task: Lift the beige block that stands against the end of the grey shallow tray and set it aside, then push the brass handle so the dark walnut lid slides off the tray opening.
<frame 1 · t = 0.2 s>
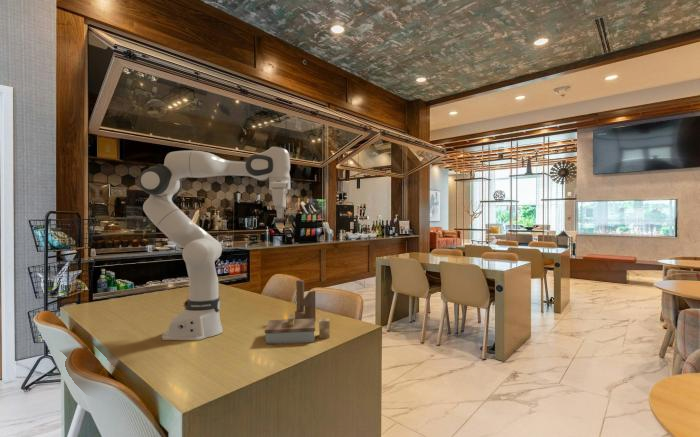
hand: (280, 218, 145), 47 cm above the table, fingers open, 8 cm apart
beige block: (324, 336, 136), on the table
grey shallow tray: (291, 337, 134), on the table
wooden block: (305, 320, 158), on the table
lid: (291, 321, 134), point 6 cm above the table, slide at 0.0 cm
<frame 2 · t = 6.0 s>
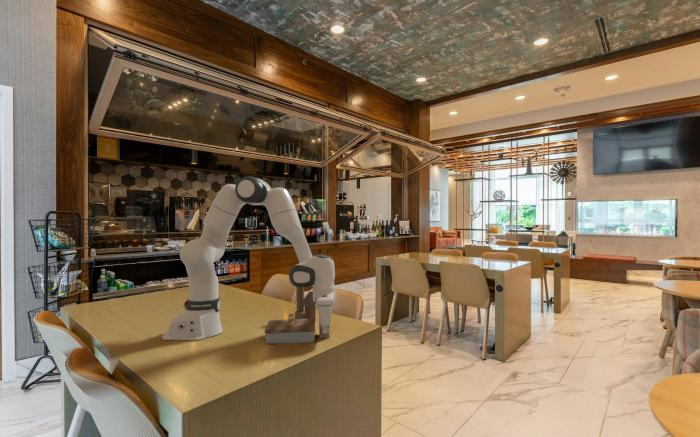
hand: (324, 330, 136), 2 cm above the table, fingers closed on beige block, 4 cm apart
beige block: (324, 336, 136), on the table, touching gripper
everything else where it was.
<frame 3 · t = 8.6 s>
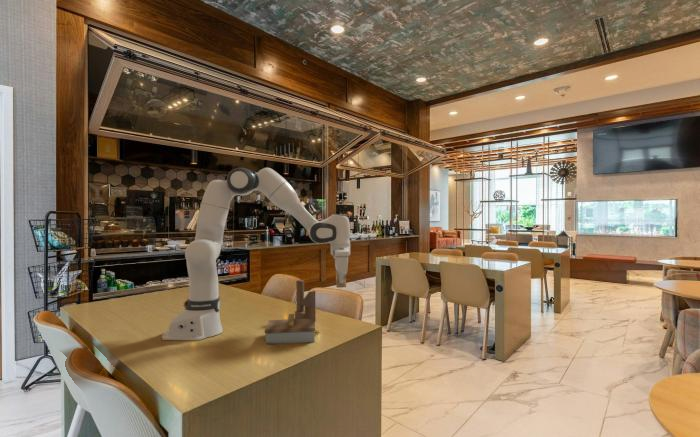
hand: (340, 281, 152), 19 cm above the table, fingers closed on beige block, 4 cm apart
beige block: (341, 286, 152), point 17 cm above the table, touching gripper
everything else where it was.
when the fingers open (3 cm above the table, at t = 11.2 s): beige block stays where it is, on the table.
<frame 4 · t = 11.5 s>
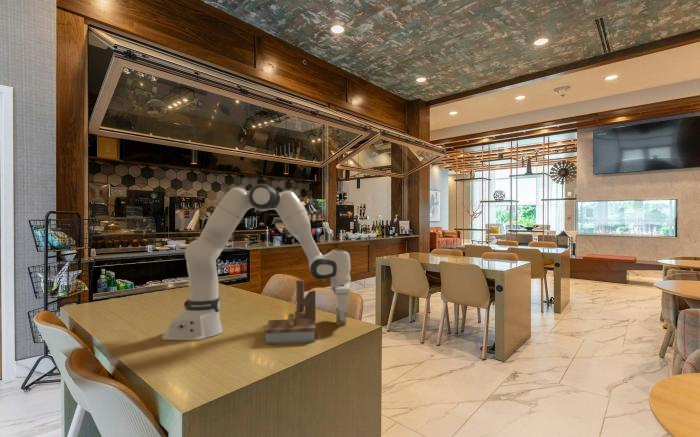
hand: (341, 316, 152), 3 cm above the table, fingers open, 7 cm apart
beige block: (341, 324, 152), on the table
everything else where it was.
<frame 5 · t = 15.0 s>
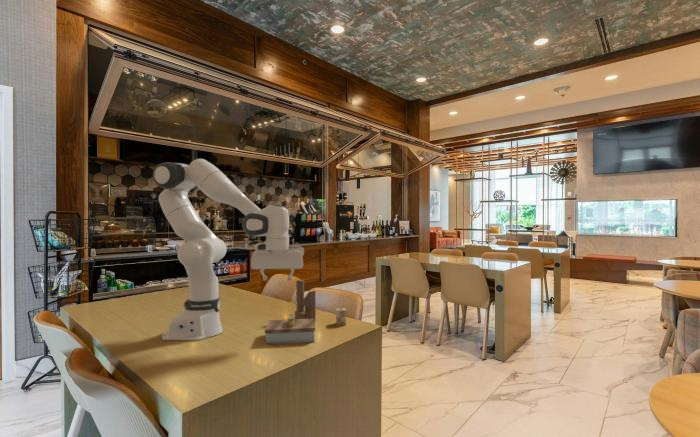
hand: (277, 280, 135), 22 cm above the table, fingers open, 8 cm apart
nothing on the table moved.
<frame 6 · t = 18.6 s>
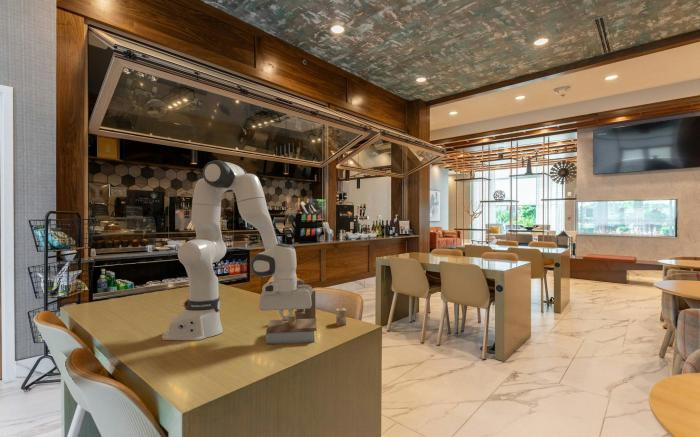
hand: (286, 320, 134), 7 cm above the table, fingers closed
lid: (292, 321, 135), point 6 cm above the table, slide at 0.5 cm, touching gripper
everything else where it was.
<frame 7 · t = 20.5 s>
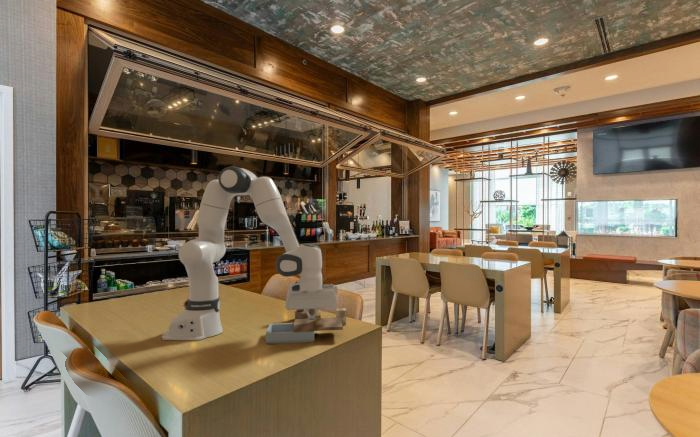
hand: (311, 319, 135), 7 cm above the table, fingers closed
lid: (317, 320, 136), point 6 cm above the table, slide at 10.5 cm, touching gripper
everything else where it was.
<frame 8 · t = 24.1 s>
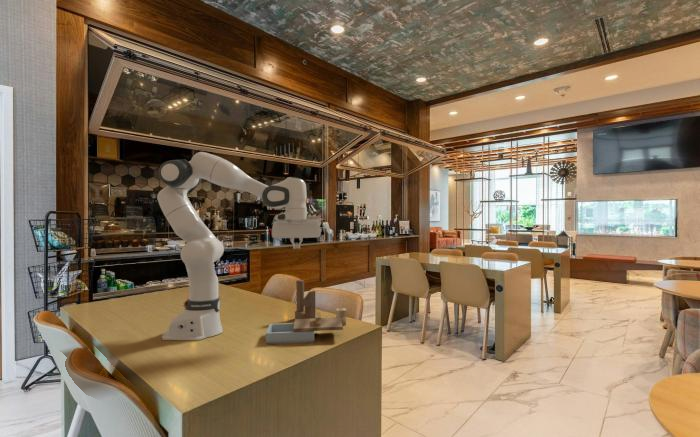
hand: (296, 248, 144), 34 cm above the table, fingers closed
lid: (318, 320, 136), point 6 cm above the table, slide at 10.5 cm
everything else where it was.
at the end: beige block moved 17.0 cm from its start; the gripper is holding nothing; lid slide at 10.5 cm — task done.
